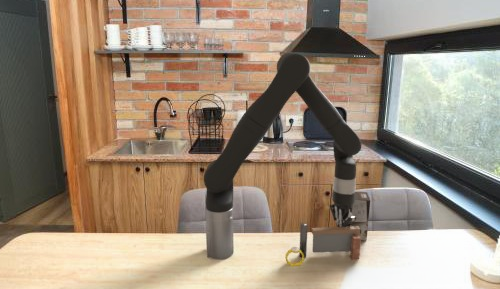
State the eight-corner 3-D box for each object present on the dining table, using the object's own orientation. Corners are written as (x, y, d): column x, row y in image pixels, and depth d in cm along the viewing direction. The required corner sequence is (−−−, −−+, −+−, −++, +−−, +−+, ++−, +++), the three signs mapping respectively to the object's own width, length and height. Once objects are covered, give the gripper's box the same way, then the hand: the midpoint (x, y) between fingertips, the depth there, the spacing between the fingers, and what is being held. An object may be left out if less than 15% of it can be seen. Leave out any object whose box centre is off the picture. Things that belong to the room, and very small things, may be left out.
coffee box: (367, 240, 129) (370, 200, 125) (349, 239, 130) (352, 199, 127) (364, 229, 138) (367, 191, 134) (347, 228, 139) (350, 190, 135)
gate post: (300, 258, 118) (301, 225, 115) (298, 254, 120) (299, 222, 117) (306, 257, 118) (308, 225, 115) (305, 254, 120) (306, 222, 117)
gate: (312, 253, 118) (313, 230, 116) (310, 250, 120) (311, 227, 118) (358, 251, 119) (360, 228, 117) (356, 248, 121) (358, 226, 119)
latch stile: (352, 259, 117) (353, 238, 115) (350, 256, 119) (351, 235, 117) (359, 259, 117) (361, 238, 115) (357, 256, 119) (358, 235, 117)
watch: (302, 263, 115) (304, 247, 114) (303, 267, 113) (305, 251, 111) (284, 261, 115) (286, 246, 114) (285, 266, 113) (287, 250, 111)
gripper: (324, 184, 124) (321, 227, 128) (346, 197, 112) (343, 245, 116) (341, 181, 126) (338, 224, 130) (365, 194, 114) (361, 241, 118)
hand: (341, 234), depth 123 cm, fingers closed
